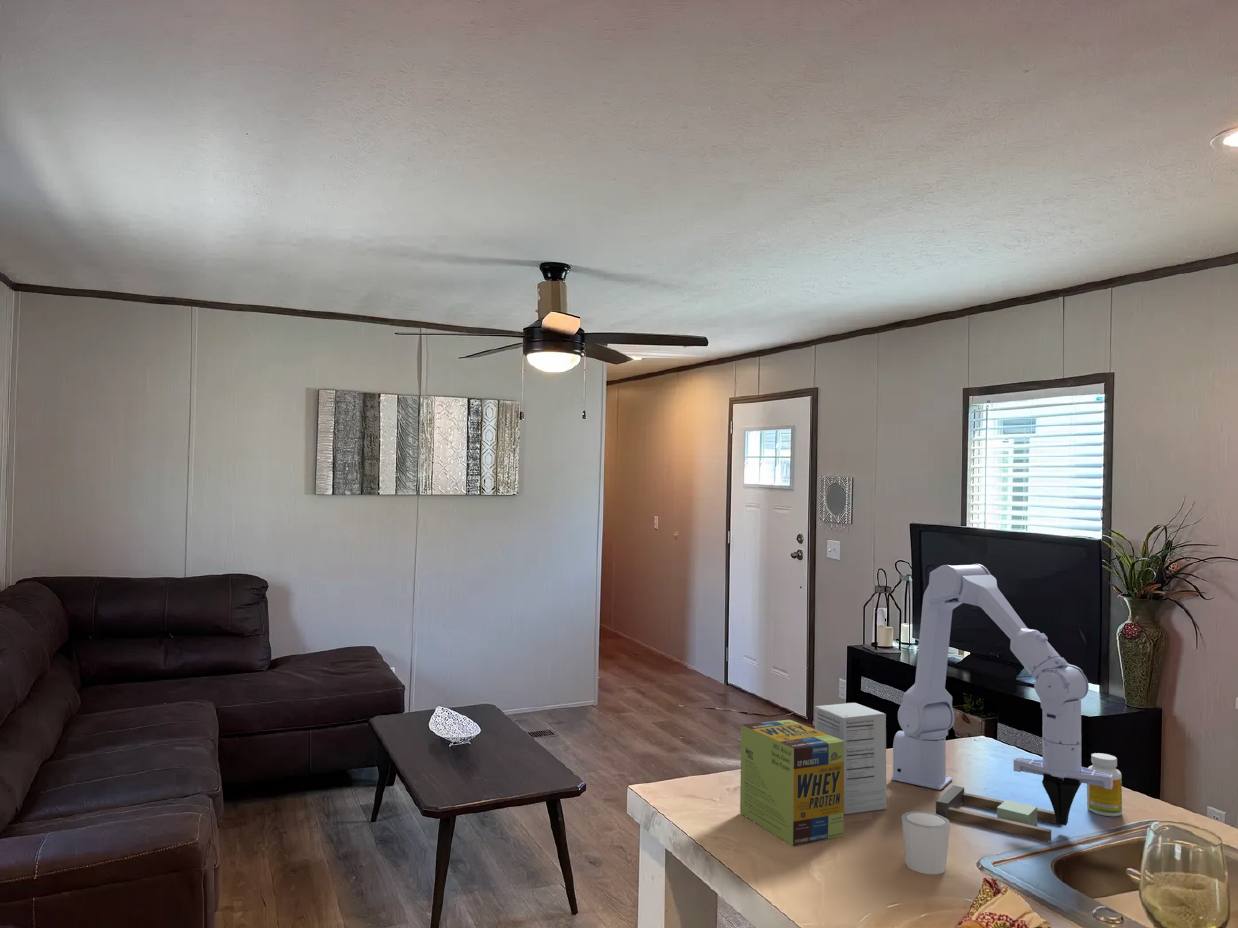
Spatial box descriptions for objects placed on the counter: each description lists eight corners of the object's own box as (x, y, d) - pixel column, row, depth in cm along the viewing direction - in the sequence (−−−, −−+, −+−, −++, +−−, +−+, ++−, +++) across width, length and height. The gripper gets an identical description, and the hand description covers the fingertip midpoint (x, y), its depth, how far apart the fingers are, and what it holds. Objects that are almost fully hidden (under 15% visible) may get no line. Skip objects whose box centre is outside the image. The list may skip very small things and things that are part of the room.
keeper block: (997, 825, 145) (997, 807, 145) (1006, 816, 148) (1006, 799, 149) (1028, 833, 141) (1028, 814, 141) (1037, 824, 145) (1037, 806, 145)
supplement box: (888, 809, 150) (888, 713, 151) (844, 815, 147) (844, 717, 148) (855, 791, 159) (855, 701, 160) (813, 797, 156) (813, 704, 157)
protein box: (793, 847, 134) (793, 747, 134) (738, 813, 148) (739, 723, 148) (845, 836, 138) (846, 740, 139) (788, 805, 152) (788, 717, 153)
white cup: (894, 856, 131) (894, 810, 131) (937, 855, 131) (937, 809, 132) (913, 876, 124) (913, 828, 124) (958, 875, 124) (958, 827, 125)
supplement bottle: (1127, 818, 148) (1126, 761, 148) (1093, 815, 149) (1092, 759, 149) (1115, 807, 153) (1115, 752, 154) (1082, 804, 154) (1082, 750, 155)
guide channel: (935, 815, 148) (935, 800, 148) (953, 798, 156) (953, 785, 156) (1049, 841, 137) (1049, 826, 137) (1061, 822, 145) (1061, 807, 146)
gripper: (1009, 737, 143) (1009, 819, 142) (1108, 754, 134) (1108, 841, 133) (1018, 728, 148) (1018, 807, 148) (1114, 743, 139) (1114, 828, 139)
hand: (1062, 822), depth 141 cm, fingers closed
